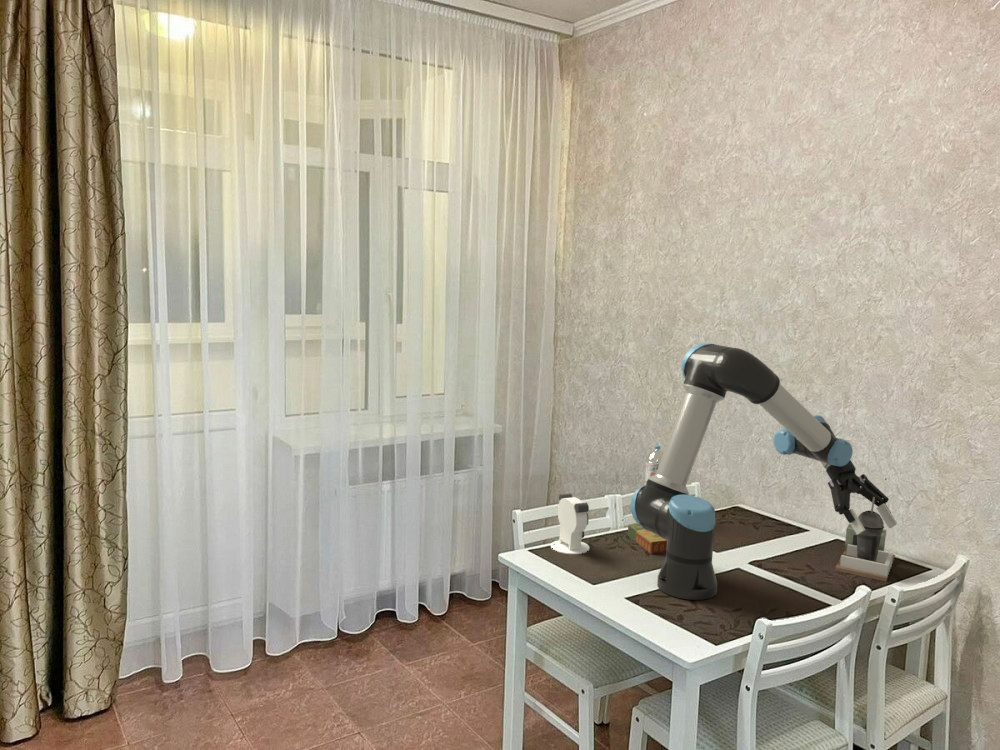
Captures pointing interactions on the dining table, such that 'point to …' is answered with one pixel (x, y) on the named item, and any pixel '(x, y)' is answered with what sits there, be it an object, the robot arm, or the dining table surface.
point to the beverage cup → (869, 535)
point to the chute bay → (865, 564)
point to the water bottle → (653, 462)
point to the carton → (647, 539)
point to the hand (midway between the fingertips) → (877, 529)
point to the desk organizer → (852, 540)
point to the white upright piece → (571, 525)
